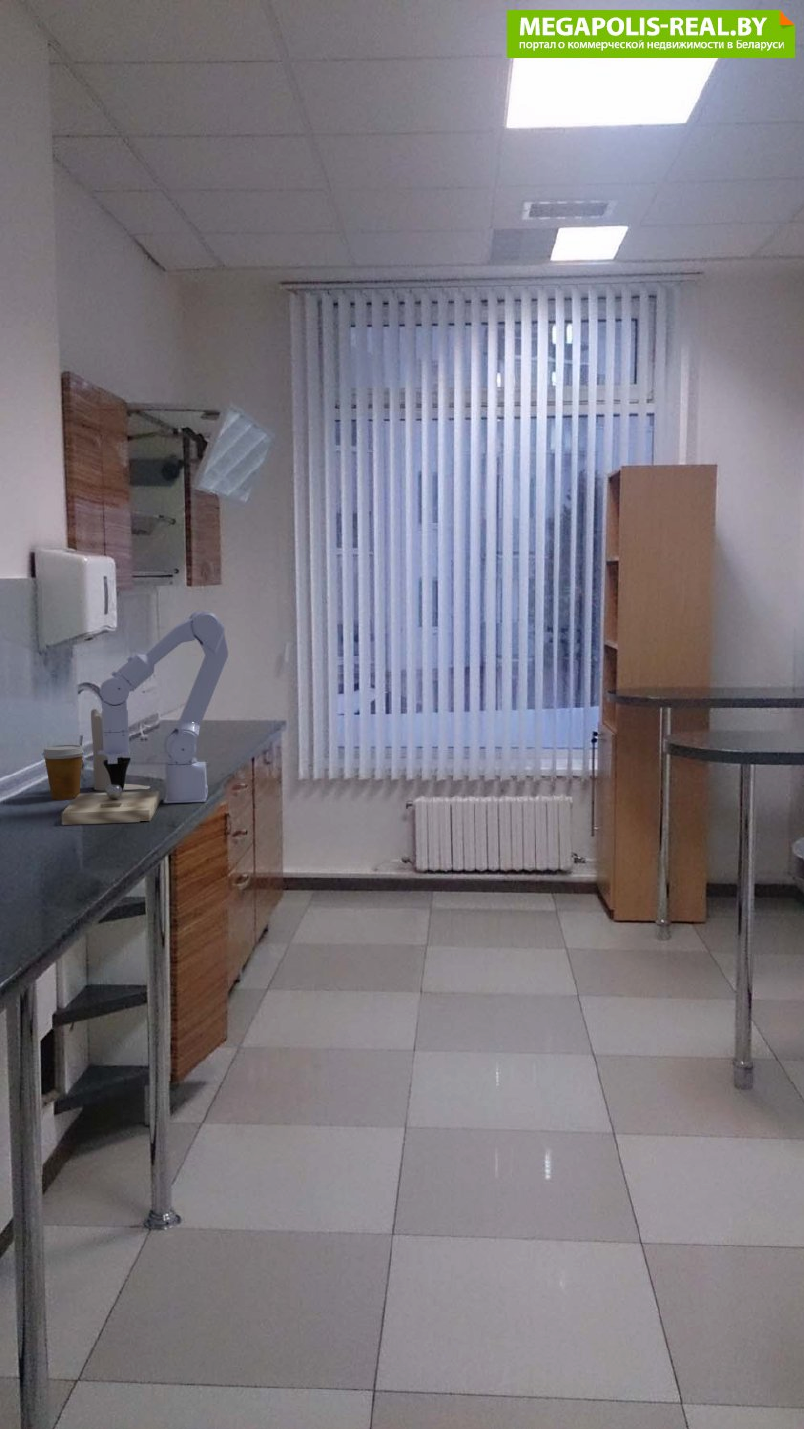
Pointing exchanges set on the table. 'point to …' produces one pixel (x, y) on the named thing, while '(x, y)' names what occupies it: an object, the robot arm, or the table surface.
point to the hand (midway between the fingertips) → (118, 790)
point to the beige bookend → (103, 757)
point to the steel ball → (114, 791)
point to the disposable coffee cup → (64, 770)
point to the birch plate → (111, 808)
